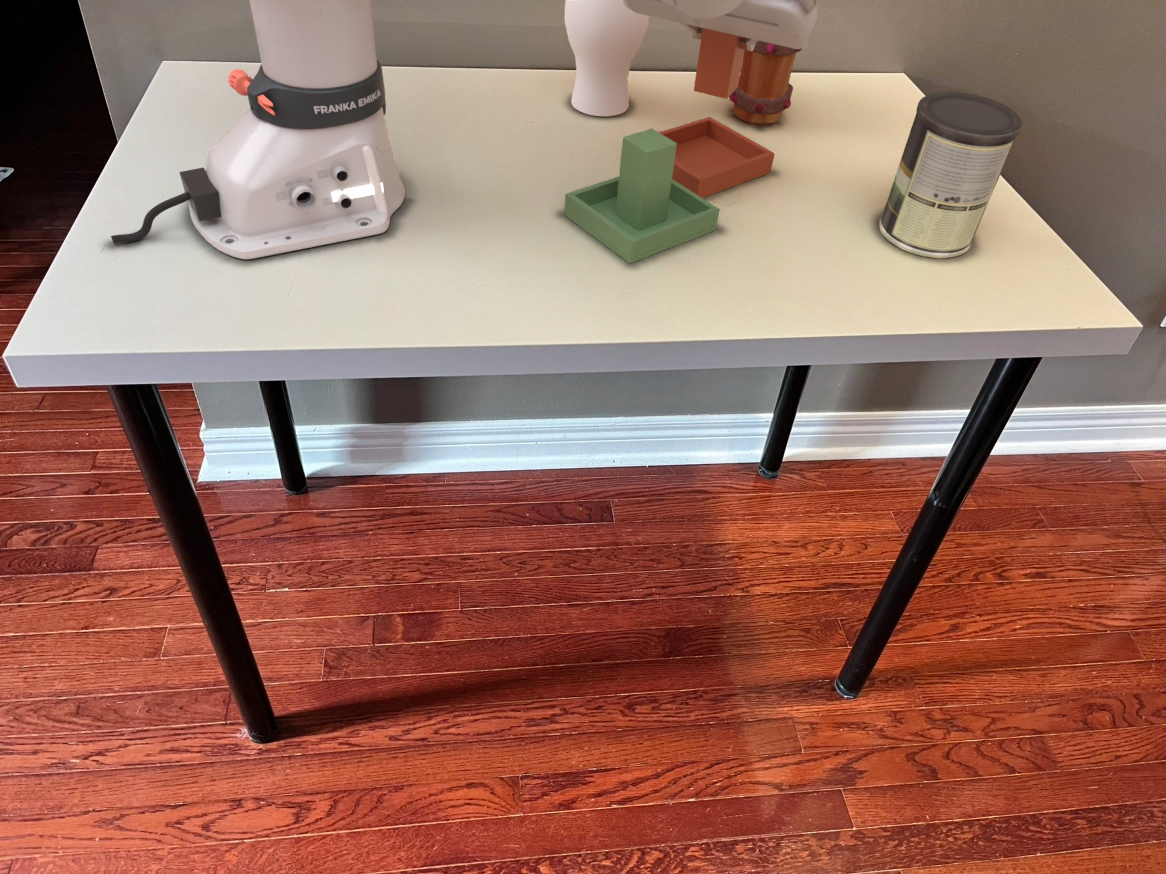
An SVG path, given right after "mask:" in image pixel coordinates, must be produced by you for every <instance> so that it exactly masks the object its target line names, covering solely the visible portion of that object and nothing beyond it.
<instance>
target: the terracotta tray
mask: <svg viewBox="0 0 1166 874" xmlns="http://www.w3.org/2000/svg"><path fill="white" fill-rule="evenodd" d="M658 132H659V133H660V134H662V135H664V136H665V137H667V138H669V139H670V140H672V141H674V142H675V143H677V147H676V154H675V161H674V168H673V175H672V179H673V180H675V181H676V182H678V183H679V184H681V185H682V186H684V187H686V188H687V189H689V190H690V191H692V192H693V193H695V194H697V195H698V196H700V197H701V198H703V199H704V198H705V197H707V196H708V197H709V196H711V195H713V194H716V193H719V192H722V191H725V190H728V189H730V188H733V187H736V186H739V185H741V184H743V183H747V182H749V181H752V180H755V179H758V178H760V177H763V176H766V175H769V174H771V172H772V167H773V162H774V159H775V155H776V154H775V152H774V151H772V150H770V149H768V148H766V147H764V146H763V145H761V144H759V143H757V142H756V141H754V140H752V139H750V138H749V137H748V136H747V137H746V136H745V135H743V134H741V133H739V132H738V131H736V130H734V129H732V128H730V127H729V126H727V125H725V124H723V123H721V122H720V121H718V120H716V119H714V118H713V117H711V116H707V117H705V118H700V119H698V120H695V121H691V122H687V123H685V124H681V125H679V126H675V127H672V128H668V129H665V130H662V131H658Z"/></svg>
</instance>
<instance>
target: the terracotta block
mask: <svg viewBox="0 0 1166 874" xmlns="http://www.w3.org/2000/svg"><path fill="white" fill-rule="evenodd" d="M740 37H741V36H736V35H732V34H727V33H723V32H718V31H714V30H710V29H705V28H703V30H702V37H701V40H700V42H699V43H700V44H699V51H698V58H697V59H698V60H697V63H696V64H697V66H696V71H695V72H696V73H695V79H694V85H693V92H697V93H700V94H705V95H709V96H713V97H717V98H721V99H725V100H727V99H729V96H730V95H731V94H732V93H733V92H734V90H735V89H736V88H737V87H738V83H739V78H740V74H741V69H742V63H743V56H744V49H740V46H739V39H740Z"/></svg>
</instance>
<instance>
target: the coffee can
mask: <svg viewBox="0 0 1166 874" xmlns="http://www.w3.org/2000/svg"><path fill="white" fill-rule="evenodd" d="M1022 128H1023V121H1022V119H1021V116H1019V114H1018V113H1017V112H1016V111H1014V110H1013V109H1012V108H1010V107H1008V106H1007V105H1005V104H1003V103H1002V102H999V101H996V100H994V99H991V98H988V97H984V96H982V95H981V96H980V95H978V94H974V93H966V92H958V91H943V92H933V93H930V94H926V95H925V96H923V97H922V98H921V99H919V101H918V103H917V106H916V112H915V116H914V118H913V122H912V125H911V128H910V131H909V134H908V138H907V140H906V143H905V146H904V150H903V153H902V156H901V158H900V161H899V164H898V167H897V169H896V174H895V176H894V179H893V182H892V186H891V187H890V191H889V194H888V197H887V200H886V202H885V206H884V209H883V213H882V216H881V217H880V219H879V222H878V228H879V232H880V233H881V234H882V236H883V238H885V239H886V240H887V241H888V242H889V243H891V244H892V245H893V246H895V247H897V248H898V249H900V250H903V251H905V252H907V253H910V254H914V255H916V256H920V257H923V258H924V257H925V258H931V259H948V258H949V259H950V258H955V257H959V256H961V255H963V254H965V253H966V252H968V251H969V250H970V248H971V246H972V242H973V239H974V237H975V235H976V232H977V230H978V228H979V225H980V223H981V220H982V219H983V216H984V214H985V212H986V209H987V207H988V205H989V202H990V200H991V197H992V196H993V193H994V190H995V188H996V186H997V183H998V182H999V179H1000V177H1001V174H1002V172H1003V169H1004V167H1005V164H1006V162H1007V159H1008V157H1009V155H1010V153H1011V151H1012V148H1013V145H1014V144H1015V141H1016V138H1017V137H1018V136H1019V134H1020V133H1021V130H1022Z"/></svg>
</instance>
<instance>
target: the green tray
mask: <svg viewBox="0 0 1166 874" xmlns="http://www.w3.org/2000/svg"><path fill="white" fill-rule="evenodd" d="M618 183H619V175H618V176H616V177H613V178H609V179H606V180H604V181H600V182H596V183H594V184H592V185H588V186H584V187H582V188H579V189H576V190H573V191H570V192H567V193H565V195H564V211H563V212H564V216H565V217H566V218H568V219H569V220H570V221H572V222H573V223H574V224H576V225H577V226H579V227H580V228H581V229H583V230H584V231H585V232H587V234H589V235H591V236H592V237H593V238H594V239H596V240H598V242H600V243H601V244H602V245H604V246H606V247H607V248H608V249H610V250H611V251H612V252H613V253H614V254H616V255H618V256H619V257H621V259H623V260H624V261H625V262H627V263H628V264H630V265H631V264H633V263H636V262H638V261H641V260H644V259H646V258H648V257H651V256H653V255H656V254H658V253H661V252H664V251H666V250H669V249H671V248H673V247H677V246H679V245H681V244H684V243H686V242H689V241H691V240H694V239H697V238H699V237H703V236H705V235H707V234H709V233H712V232H714V231H717V227H718V220H719V216H720V208H719V207H717V206H716V205H714V204H712V203H711V202H709V201H708V200H706V199H705V198H704V197H703V198H701V197H700V196H698V195H697V194H695V193H693V192H692V191H690V190H689V189H687V188H686V187H684V186H682V185H681V184H679V183H678V182H676V181H675V180H673V179H672V181H671V188H670V195H669V202H668V209H667V216H666V221H663V222H661V223H658V224H655V225H653V226H650V227H647V228H645V229H642V230H639V231H638V230H637V229H635V228H634V227H633V226H631V225H630V224H628V223H627V222H625V221H624V220H623V219H621V218H620V217H618V216H617V215H616V204H617V193H618Z"/></svg>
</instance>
